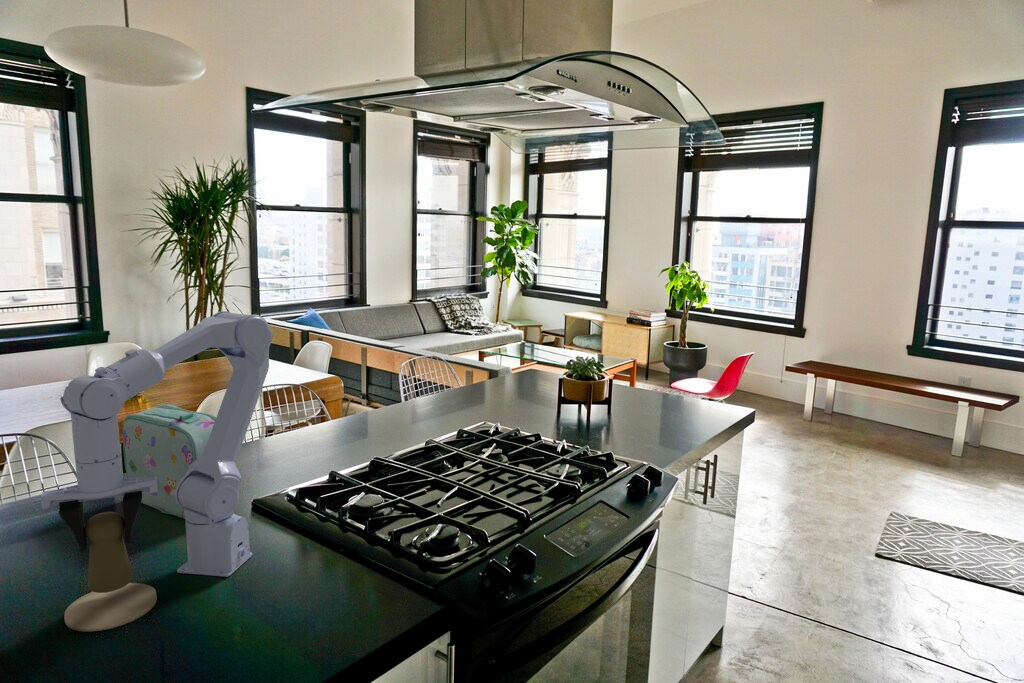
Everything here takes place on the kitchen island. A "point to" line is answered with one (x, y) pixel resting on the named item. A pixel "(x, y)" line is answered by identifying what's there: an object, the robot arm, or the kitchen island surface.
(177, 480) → the lunch box
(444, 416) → the kitchen island surface
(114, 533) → the pepper shaker
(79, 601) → the cork trivet
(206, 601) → the kitchen island surface
